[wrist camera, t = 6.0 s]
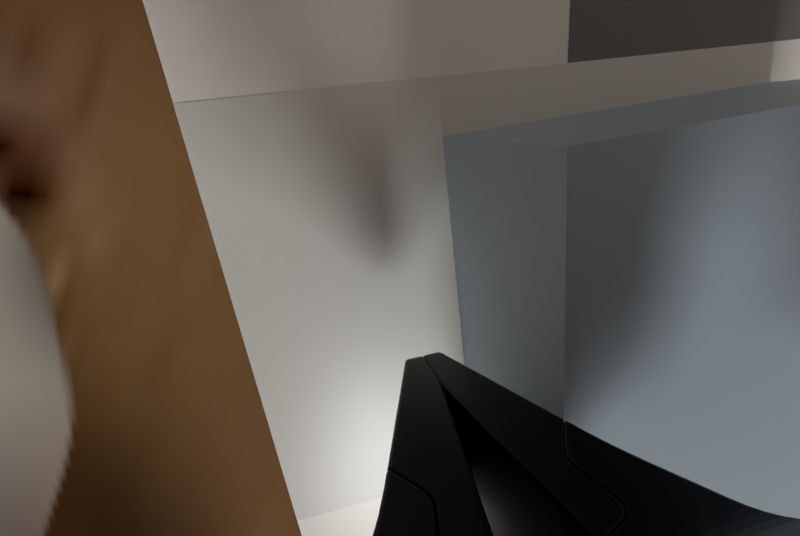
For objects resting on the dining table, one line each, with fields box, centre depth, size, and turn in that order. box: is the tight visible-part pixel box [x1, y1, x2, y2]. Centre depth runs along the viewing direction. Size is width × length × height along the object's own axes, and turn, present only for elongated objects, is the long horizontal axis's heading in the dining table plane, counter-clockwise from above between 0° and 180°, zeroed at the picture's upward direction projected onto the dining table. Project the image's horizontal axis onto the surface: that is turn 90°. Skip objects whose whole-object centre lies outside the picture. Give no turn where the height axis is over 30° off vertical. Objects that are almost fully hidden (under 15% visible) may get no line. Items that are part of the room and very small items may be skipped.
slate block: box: [442, 79, 800, 519], centre depth 10 cm, size 10×10×5 cm
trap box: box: [143, 0, 800, 536], centre depth 12 cm, size 26×26×3 cm
